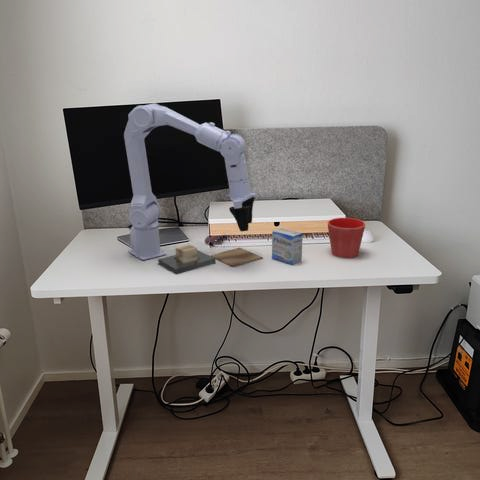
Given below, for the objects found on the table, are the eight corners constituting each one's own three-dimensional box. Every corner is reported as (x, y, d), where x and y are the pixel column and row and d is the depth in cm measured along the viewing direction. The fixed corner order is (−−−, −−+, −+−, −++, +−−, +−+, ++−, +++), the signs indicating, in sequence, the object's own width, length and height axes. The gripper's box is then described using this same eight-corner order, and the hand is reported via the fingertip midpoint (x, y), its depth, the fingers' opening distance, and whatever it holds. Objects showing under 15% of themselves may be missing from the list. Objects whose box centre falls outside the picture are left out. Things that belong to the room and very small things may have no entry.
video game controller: (215, 249, 162) (224, 231, 159) (203, 242, 162) (212, 224, 159) (222, 239, 171) (231, 222, 168) (210, 233, 171) (219, 216, 168)
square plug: (176, 263, 146) (175, 247, 145) (189, 260, 149) (188, 243, 147) (184, 268, 143) (183, 251, 141) (197, 264, 145) (197, 248, 144)
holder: (158, 264, 146) (158, 259, 145) (196, 254, 153) (196, 249, 153) (176, 274, 138) (176, 269, 138) (215, 263, 146) (215, 258, 145)
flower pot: (340, 262, 145) (342, 230, 142) (319, 250, 155) (320, 220, 151) (370, 256, 149) (373, 225, 146) (348, 245, 159) (350, 215, 156)
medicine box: (271, 259, 148) (271, 230, 146) (280, 255, 152) (281, 227, 149) (292, 265, 143) (293, 236, 141) (302, 261, 146) (303, 232, 144)
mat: (210, 256, 151) (210, 255, 151) (239, 248, 157) (239, 247, 157) (232, 267, 143) (232, 265, 143) (262, 258, 149) (262, 257, 149)
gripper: (249, 183, 132) (257, 232, 136) (256, 172, 145) (263, 218, 149) (222, 186, 133) (231, 235, 137) (232, 176, 147) (239, 221, 151)
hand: (246, 226), depth 143 cm, fingers open, 7 cm apart
